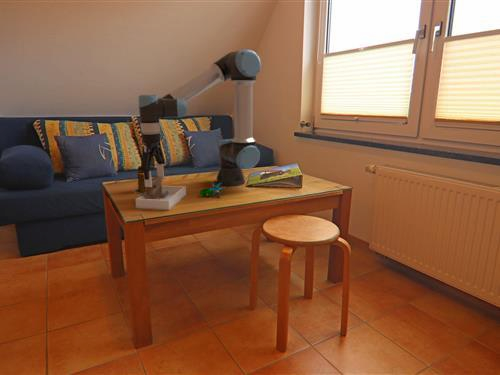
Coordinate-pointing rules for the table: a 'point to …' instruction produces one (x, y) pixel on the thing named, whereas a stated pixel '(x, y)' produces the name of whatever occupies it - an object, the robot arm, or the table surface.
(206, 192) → the stick construction toy
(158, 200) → the shallow white tray
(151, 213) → the table surface
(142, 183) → the condiment
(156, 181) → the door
